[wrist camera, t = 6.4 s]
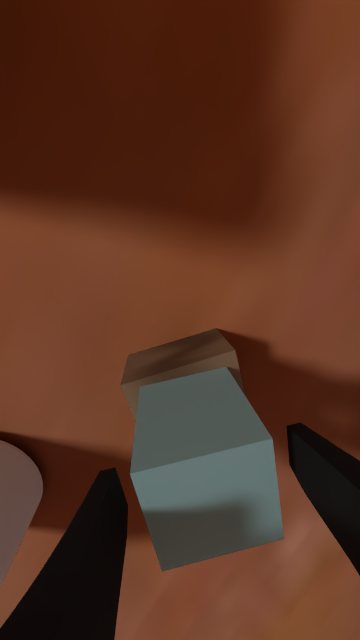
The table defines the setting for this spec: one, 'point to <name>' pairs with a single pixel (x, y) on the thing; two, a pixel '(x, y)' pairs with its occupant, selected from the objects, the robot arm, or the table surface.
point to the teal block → (203, 469)
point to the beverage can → (16, 501)
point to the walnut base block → (178, 363)
